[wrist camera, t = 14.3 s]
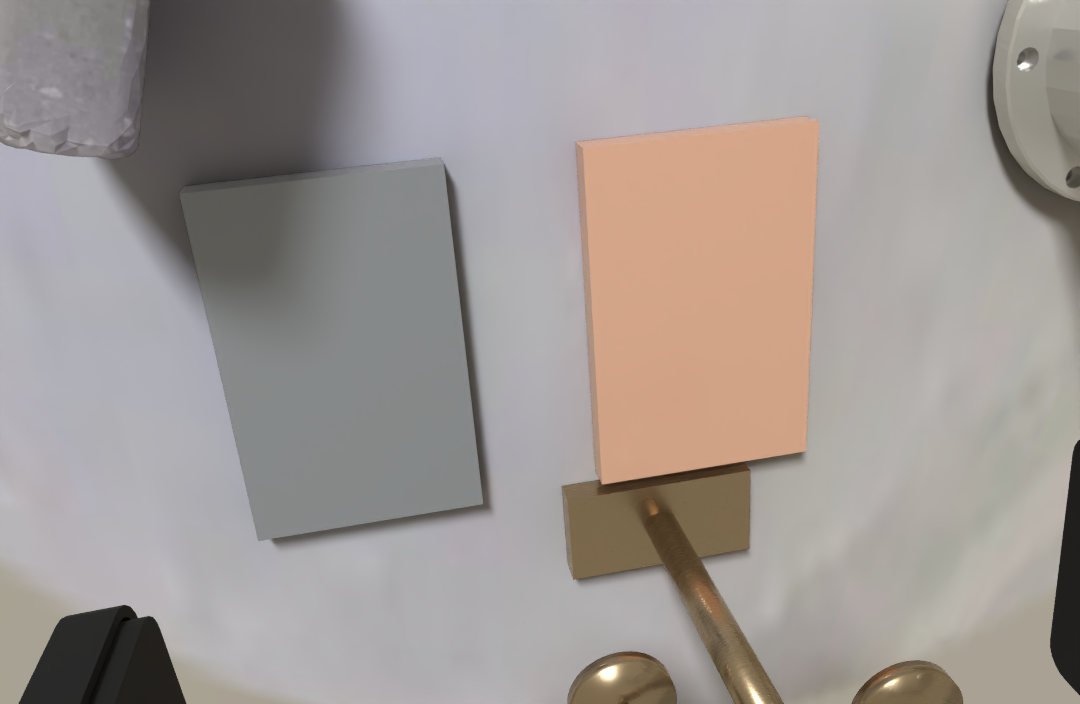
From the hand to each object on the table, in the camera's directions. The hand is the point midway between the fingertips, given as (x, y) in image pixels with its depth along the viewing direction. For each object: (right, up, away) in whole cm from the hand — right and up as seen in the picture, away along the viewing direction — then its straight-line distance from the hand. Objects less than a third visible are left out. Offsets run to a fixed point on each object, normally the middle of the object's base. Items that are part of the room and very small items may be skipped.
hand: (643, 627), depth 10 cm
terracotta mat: (+5, +5, +29) cm, 30 cm away
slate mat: (-9, +3, +27) cm, 28 cm away
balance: (+4, -4, +33) cm, 33 cm away
